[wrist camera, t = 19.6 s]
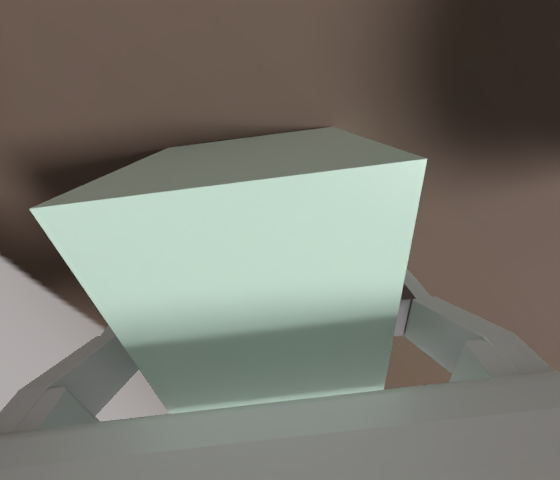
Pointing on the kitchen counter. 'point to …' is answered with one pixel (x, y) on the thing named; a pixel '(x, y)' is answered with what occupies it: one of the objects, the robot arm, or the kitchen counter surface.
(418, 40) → the kitchen counter surface
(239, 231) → the mint green block
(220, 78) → the kitchen counter surface
